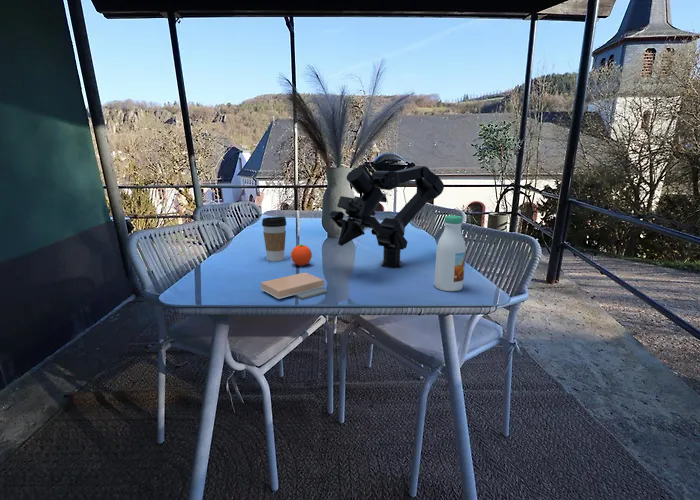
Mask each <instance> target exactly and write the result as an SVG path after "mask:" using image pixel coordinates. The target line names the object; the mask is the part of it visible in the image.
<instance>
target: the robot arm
mask: <svg viewBox="0 0 700 500" xmlns="http://www.w3.org/2000/svg"><path fill="white" fill-rule="evenodd" d="M346 181H347V182H348V183H349V184H350V185H351V187H352V188H353V190H354V191H355V192H356V193H357V194H359V195H361V196H354V197H349V196H339V199H338V202H337V204H336V205H337V206H336V207H337V208H341V209H342V210H344V212H343V211H340V210H331V212H330V213H329V215H328V218H330V219H331V220H332V221H333V223H334V224H335V225H336V226H337V227H339V228H341V231H340V235H339V239H338V241H337V244H338V245H339V246H341V247H342V246H344V245H346V244H348V243H350V242H351V241H353V240H355V239H357V238H359V237H360V236H362V235H363V236H364V235H365V234H366V233H365V231H366V230H367V229H371V234H372V235H373V236H376V240H377V245H378V246H380V247H383V255H382V256H383V258H382V262H381V265H380V266H381V267H391V268H401V267H402V260H401V253H402V252H401V250H405V249H407V246H408V243H409V242H408V240H407V239H406V238H405V233H406V232H405V231H406V230H405V229H406V227H407V226H408V225H409V223H411V221H412V220H413V219H414V218H415V217H416V216H417V214H418V213H419V212H420V211H421V210H422V208H423V207H425V205H426V204H427V203H428V202H430V201H432V200H435V199H436V198H438V197H439V196H440V195H441V194H442V193H443V191H444V188H445V184H444V182H443V181H442V179H441V178H440V176H439V175H437V174H435V173H434V172H432V171H431V170H430V168H429V167H428V166H426V165H424V166H423V165H416V166H413V167H408V168H403V169H399V170H394V171H393V170H392V171H391V170H375V171H373V172H372V174H371V173H370V172H369V170H368V168H367V166H366V165H365V164H359V165H358V166H357V167H354V168H353V169H352V170H350V171H349V172H348V173H347V174H346ZM410 181H414V184H415V186H416V193H414V195H413V196H412V197H411V199H410V200H408V202H407V203H406V204H405V205H404V206H403V207H402V208H401V210H399V212H398V213H397V214H396V215H395V216H394V217H393V218H390V217H385V218H384V219H382V221H381V223H380V221H379V220H378V219H377V218H376V217H375V215H376V214H377V213H376V212H375V210H376V208H377V207H378V205H379V204H380V203H387V202H388V200H387V199H388V198H387V194H386V193H383V191H382V190H384V191H391V190H393V189H396V188H398V187H399V185H400V184H403V183H406V182H410Z"/></svg>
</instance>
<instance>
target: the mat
mask: <svg viewBox="0 0 700 500" xmlns="http://www.w3.org/2000/svg"><path fill="white" fill-rule="evenodd" d="M327 293H328V290H327V289H325V288H323V287H321V288H318V289H314V290H310V291H306V292H303V293H299V294H295V295H292V296H294V297H295V298H297V299H299V300H301V301H303V300H307V299H310V298H313V297H317V296H322V295H324V294H327Z"/></svg>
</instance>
